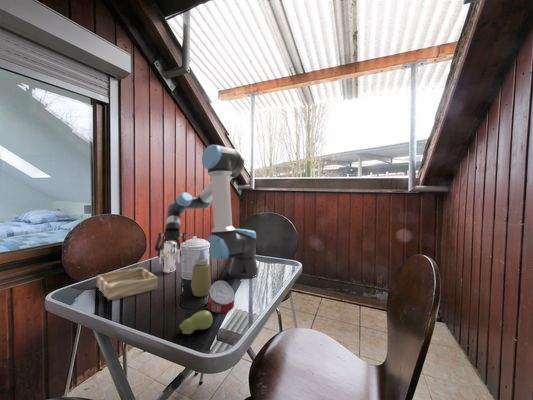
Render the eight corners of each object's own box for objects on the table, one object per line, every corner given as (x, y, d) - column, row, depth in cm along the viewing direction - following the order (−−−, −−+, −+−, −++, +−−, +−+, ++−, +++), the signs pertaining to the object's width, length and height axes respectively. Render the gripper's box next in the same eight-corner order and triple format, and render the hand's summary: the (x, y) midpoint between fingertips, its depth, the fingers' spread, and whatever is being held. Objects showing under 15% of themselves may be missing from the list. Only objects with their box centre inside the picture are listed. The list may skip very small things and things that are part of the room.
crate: (157, 289, 105) (157, 277, 105) (108, 301, 92) (108, 288, 92) (141, 277, 117) (142, 267, 117) (96, 286, 104) (96, 275, 104)
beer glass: (171, 273, 124) (172, 244, 124) (159, 272, 125) (160, 243, 125) (179, 269, 131) (180, 241, 130) (167, 268, 132) (168, 240, 132)
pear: (214, 312, 76) (181, 326, 70) (216, 328, 77) (183, 343, 71) (207, 304, 81) (176, 317, 75) (209, 319, 81) (178, 333, 76)
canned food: (229, 313, 97) (242, 290, 97) (225, 324, 87) (240, 298, 87) (204, 298, 97) (217, 275, 98) (197, 307, 87) (212, 282, 88)
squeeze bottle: (214, 293, 103) (216, 250, 102) (200, 300, 96) (201, 254, 96) (201, 288, 107) (202, 247, 107) (186, 294, 100) (187, 250, 100)
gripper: (192, 229, 145) (190, 264, 130) (153, 229, 139) (147, 266, 124) (192, 221, 140) (190, 257, 125) (152, 221, 134) (145, 259, 119)
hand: (169, 262), depth 125 cm, fingers open, 8 cm apart
